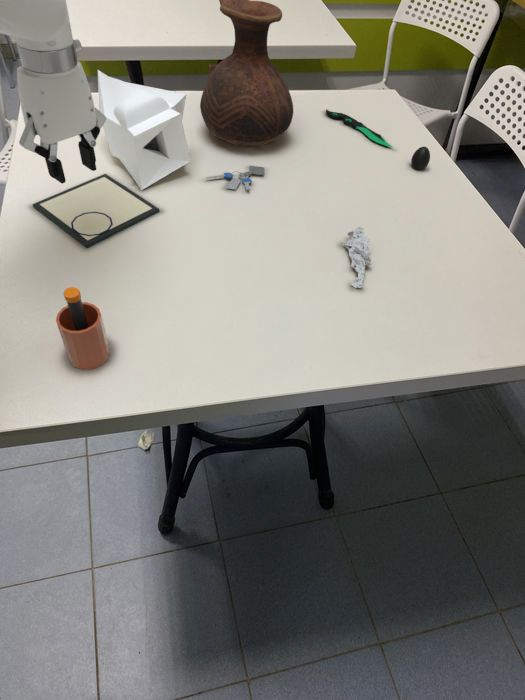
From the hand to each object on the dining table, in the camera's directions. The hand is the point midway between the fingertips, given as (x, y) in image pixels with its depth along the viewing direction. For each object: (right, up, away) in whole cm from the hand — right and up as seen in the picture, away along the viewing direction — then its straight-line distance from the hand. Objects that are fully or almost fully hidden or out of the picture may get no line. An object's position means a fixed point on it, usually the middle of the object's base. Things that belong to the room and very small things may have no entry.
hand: (74, 172), depth 83 cm
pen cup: (+6, -31, -10) cm, 33 cm away
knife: (+57, +27, +44) cm, 77 cm away
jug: (+28, +23, +38) cm, 52 cm away
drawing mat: (0, -3, +13) cm, 13 cm away
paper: (+50, -14, +9) cm, 52 cm away
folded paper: (+5, +12, +26) cm, 30 cm away
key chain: (+28, +6, +24) cm, 37 cm away
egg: (+69, +14, +35) cm, 79 cm away
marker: (+6, -30, -11) cm, 33 cm away
